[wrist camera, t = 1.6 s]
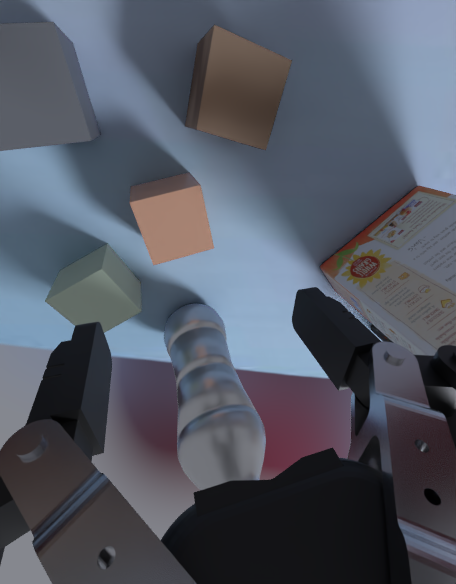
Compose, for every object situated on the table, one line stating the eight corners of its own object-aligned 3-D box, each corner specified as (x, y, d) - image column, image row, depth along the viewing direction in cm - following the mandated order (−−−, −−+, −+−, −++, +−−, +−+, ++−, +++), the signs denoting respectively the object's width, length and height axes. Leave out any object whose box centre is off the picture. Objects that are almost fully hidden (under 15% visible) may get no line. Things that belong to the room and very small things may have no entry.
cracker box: (335, 292, 36) (510, 451, 19) (316, 264, 32) (512, 429, 15) (427, 220, 33) (720, 330, 17) (418, 182, 30) (779, 273, 13)
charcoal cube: (-17, 47, 16) (-68, 25, 12) (72, 42, 17) (53, 22, 13) (26, 142, 19) (-3, 151, 15) (100, 134, 20) (91, 140, 16)
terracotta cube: (130, 186, 22) (129, 202, 18) (189, 172, 23) (200, 185, 19) (150, 240, 25) (153, 265, 21) (202, 226, 26) (214, 248, 22)
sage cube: (59, 270, 24) (44, 301, 20) (107, 242, 24) (101, 268, 20) (98, 306, 27) (91, 339, 23) (140, 282, 27) (141, 311, 23)
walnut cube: (197, 43, 18) (214, 24, 14) (261, 70, 20) (291, 60, 16) (184, 126, 21) (196, 129, 17) (242, 143, 23) (265, 150, 19)
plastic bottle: (225, 325, 33) (308, 520, 17) (176, 348, 33) (213, 567, 17) (207, 286, 29) (292, 493, 14) (151, 312, 29) (169, 552, 13)
